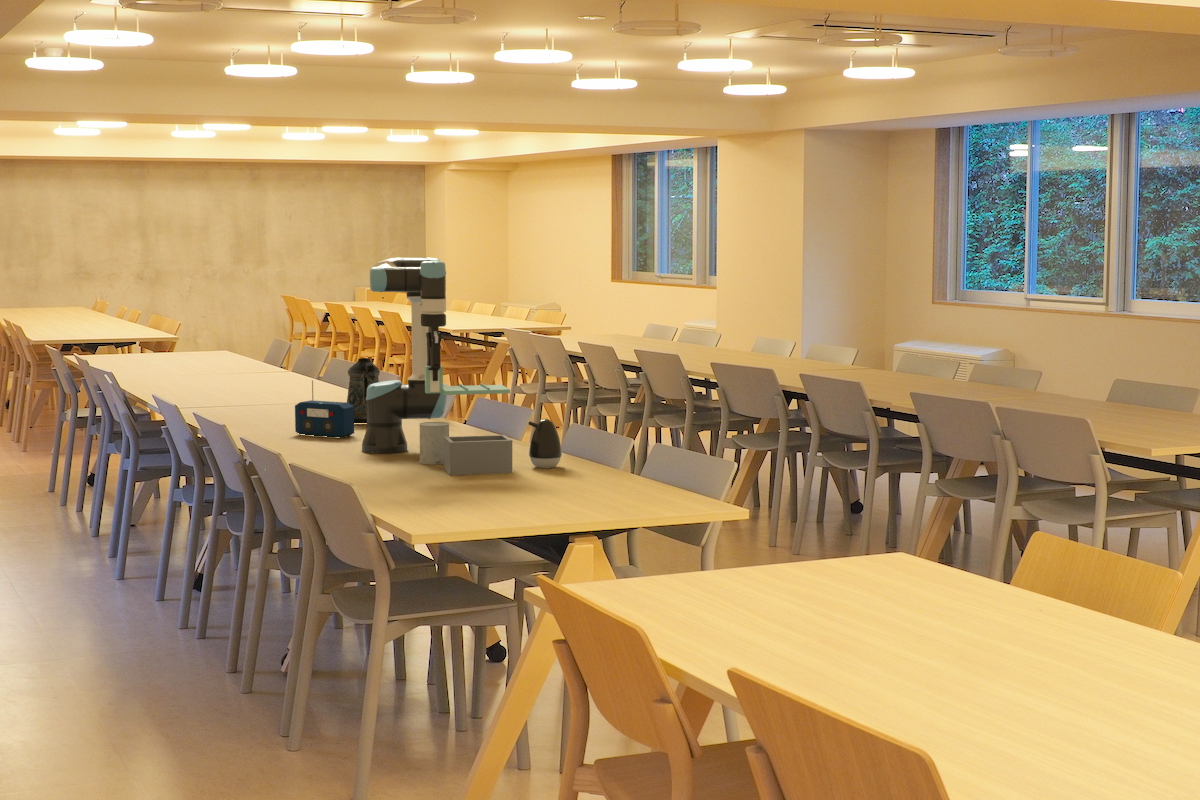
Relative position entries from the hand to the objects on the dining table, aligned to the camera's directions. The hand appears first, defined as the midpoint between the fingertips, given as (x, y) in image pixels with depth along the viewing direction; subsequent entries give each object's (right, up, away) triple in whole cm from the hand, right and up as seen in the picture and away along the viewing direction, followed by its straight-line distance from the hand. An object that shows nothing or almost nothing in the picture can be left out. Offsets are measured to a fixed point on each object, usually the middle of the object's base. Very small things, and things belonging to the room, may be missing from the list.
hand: (433, 390), depth 387 cm
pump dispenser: (+33, -24, +14) cm, 43 cm away
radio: (-50, -16, +78) cm, 94 cm away
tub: (+13, -24, +6) cm, 28 cm away
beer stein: (-41, -12, +115) cm, 123 cm away
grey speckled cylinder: (-3, -23, +23) cm, 32 cm away
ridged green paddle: (+9, 0, +3) cm, 10 cm away
